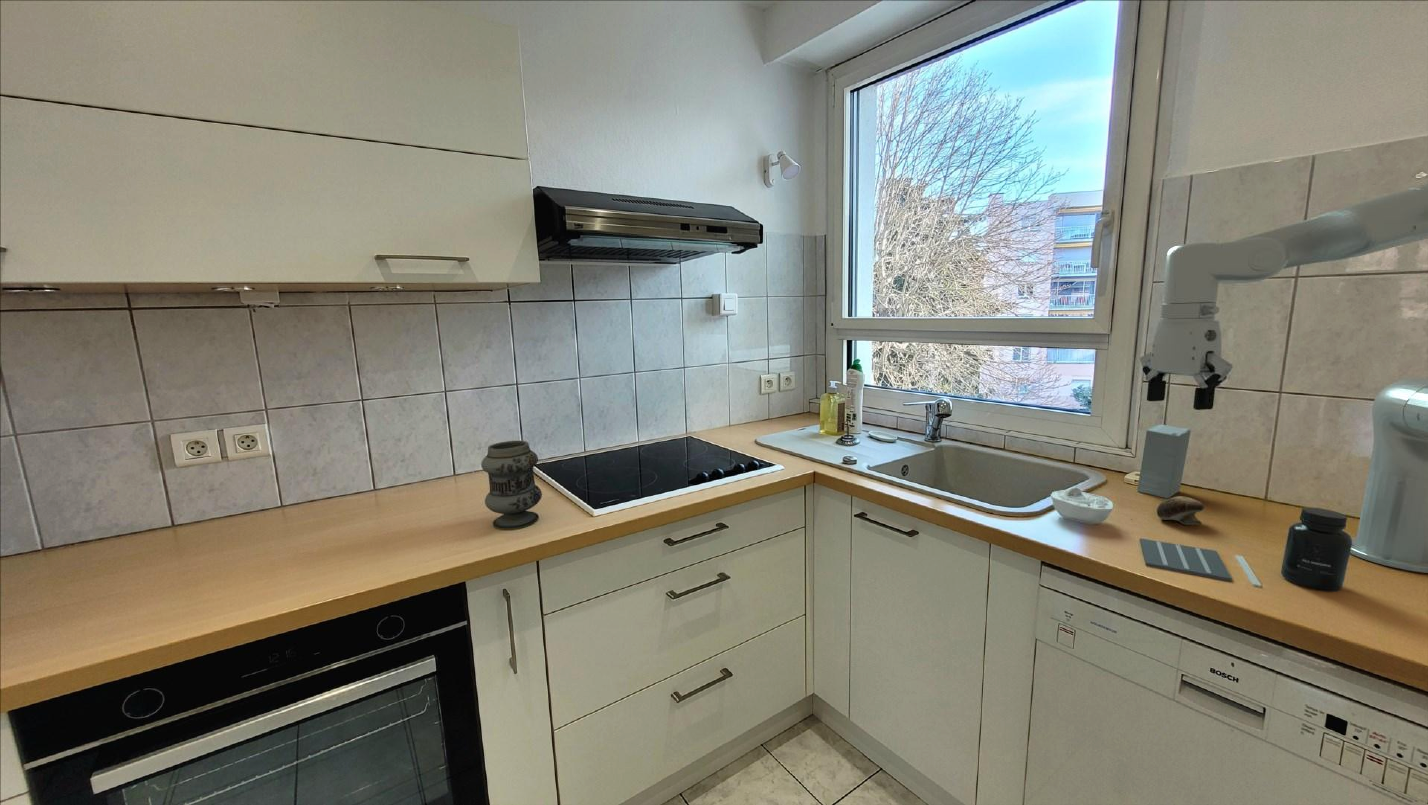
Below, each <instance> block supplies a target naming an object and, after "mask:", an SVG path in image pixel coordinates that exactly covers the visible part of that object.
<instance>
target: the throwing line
mask: <svg viewBox="0 0 1428 805" xmlns="http://www.w3.org/2000/svg"><path fill="white" fill-rule="evenodd" d="M1234 557H1235V559H1236V561H1237V563H1238V564H1239V566H1240V567H1242V568H1241V569H1242V570H1243V572H1244V574H1245V576H1246V575H1247V576H1246V577H1247V579H1248V580H1249V582H1250V584H1251V586H1254V587H1259V588H1261V587H1262V584H1261V582H1260V580H1259V579H1258V577H1257V576H1256V575H1255V573H1254V572H1253V570H1252V568H1251V567H1250V565H1249V564H1248V562H1247V561H1246V560H1245V558H1244V556H1242V555H1237V554H1235V555H1234Z"/></svg>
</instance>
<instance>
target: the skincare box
mask: <svg viewBox="0 0 1428 805" xmlns="http://www.w3.org/2000/svg"><path fill="white" fill-rule="evenodd" d="M1191 432H1192V431H1191V429H1190V428H1185V427H1184V428H1183V427H1177V426H1172V425H1167V424H1166V425H1165V424H1157V425H1155V426H1153V427H1150V428H1149V429H1146V432H1145V440H1144V447H1143V451H1142V452H1143V453H1142V460H1141V465H1140V470H1139V478H1138V484H1137V492H1139V493H1143V494H1148V495H1153V496H1156V497H1159V498H1165V499H1170V498H1172V496H1173V497H1174V495H1175V494H1177V493H1178V492H1179V491H1181V486H1182V479H1183V474H1184V470H1185V466H1186V465H1185V464H1186V457H1187V453H1188V447H1189V442H1190V436H1191Z"/></svg>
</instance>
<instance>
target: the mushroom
mask: <svg viewBox="0 0 1428 805" xmlns="http://www.w3.org/2000/svg"><path fill="white" fill-rule="evenodd" d="M1204 509H1205V505H1204V504H1203V503H1202V502H1201V501H1199V500H1196V499H1195V498H1191V497H1188V496H1182V495H1179V496H1178V495H1177V496H1173V497H1170V498H1166V499H1164V500H1163V501H1161V502H1160V503H1159V505H1158V506H1157V508H1156V515H1157V516H1158V518H1159V519H1161V520H1172V521H1173V520H1174V521H1178V522H1179V523H1180V524H1182V525H1185V526H1198V525H1199V526H1200V525H1201V524H1202V521H1200V519H1198V518H1197V517H1196V514H1197V513H1200V512H1202V511H1203V510H1204Z"/></svg>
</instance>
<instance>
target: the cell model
mask: <svg viewBox="0 0 1428 805" xmlns="http://www.w3.org/2000/svg"><path fill="white" fill-rule="evenodd" d="M1050 498H1051V500H1052V505H1053V507H1054V510H1055V511H1056V512H1057V513H1058V514H1059V516H1061V517H1062V518H1064V519H1067V520H1070V521H1078V522H1080V523H1083V524H1086V525H1090V526H1091V525H1096V524H1099V523H1102V522H1103V523H1104V521H1106V520H1107V519H1108V517H1109V516H1110V515H1111V513H1112V511H1113V510H1114V509H1115V508H1114V507H1115V506H1114V502H1113V501H1112V500H1110V499H1108V498H1106V497H1105V496H1101V495H1098V494H1093V493H1088V492H1085V491H1081V489H1079V487H1073V486H1072V487H1069V488H1067V489H1061V490H1055V491H1052V493H1051V494H1050Z"/></svg>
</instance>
